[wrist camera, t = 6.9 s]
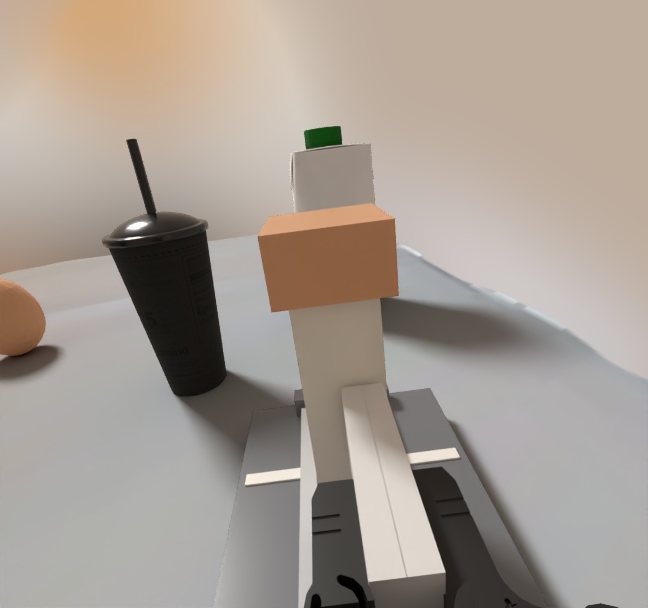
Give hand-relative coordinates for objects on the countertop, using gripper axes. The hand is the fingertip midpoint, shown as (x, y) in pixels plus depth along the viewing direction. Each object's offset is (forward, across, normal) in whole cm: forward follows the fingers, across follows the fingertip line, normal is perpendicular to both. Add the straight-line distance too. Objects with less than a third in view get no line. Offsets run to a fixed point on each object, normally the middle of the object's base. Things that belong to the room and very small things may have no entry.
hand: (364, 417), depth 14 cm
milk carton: (+32, +1, -9) cm, 33 cm away
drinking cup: (+19, -13, -9) cm, 24 cm away
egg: (+30, -37, -9) cm, 48 cm away
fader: (+2, -1, -6) cm, 6 cm away
